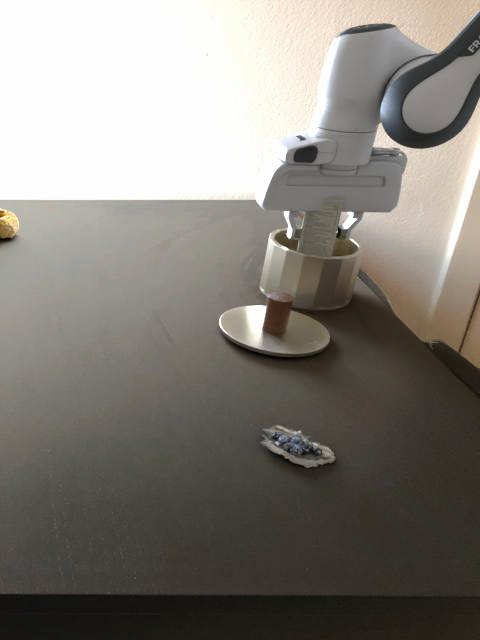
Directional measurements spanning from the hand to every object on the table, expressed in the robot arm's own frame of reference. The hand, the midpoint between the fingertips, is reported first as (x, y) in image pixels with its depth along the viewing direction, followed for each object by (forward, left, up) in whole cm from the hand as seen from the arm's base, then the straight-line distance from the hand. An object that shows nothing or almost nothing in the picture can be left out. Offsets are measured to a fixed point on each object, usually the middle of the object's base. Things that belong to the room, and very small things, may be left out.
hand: (316, 238), depth 113 cm
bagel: (+50, -26, -9) cm, 57 cm away
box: (0, 0, -4) cm, 4 cm away
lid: (+10, +15, -8) cm, 20 cm away
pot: (0, 0, -9) cm, 9 cm away
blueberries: (+16, +42, -9) cm, 46 cm away
